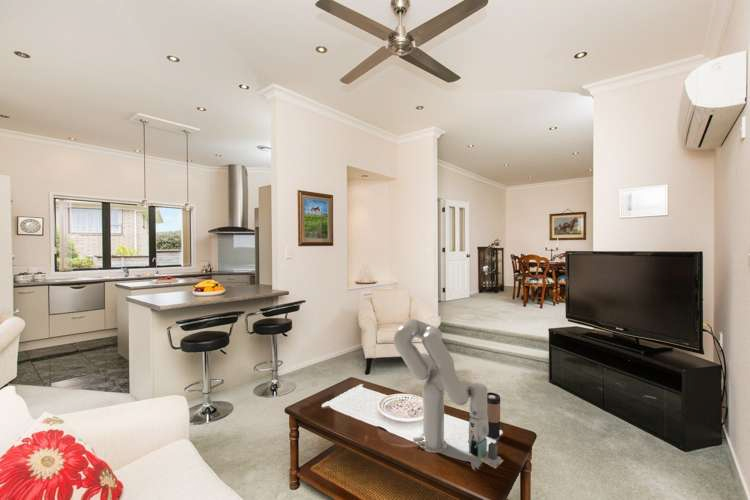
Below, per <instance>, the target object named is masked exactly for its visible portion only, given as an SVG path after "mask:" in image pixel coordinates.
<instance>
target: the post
mask: <svg viewBox="0 0 750 500" xmlns="http://www.w3.org/2000/svg"><path fill="white" fill-rule="evenodd" d="M498 446H499V445H498V444H496V443H494V442H492V441H491V442H490V443H489V444H487V447H488V448H487V452H488V455H487V456H486V457H485V461H487V462H489V463H491V464H493V465H495V466H496V465H497V464H498V463H499V462H500V461H501V459H502V457H501V456H498V453H499V451H498V449H499V448H498Z"/></svg>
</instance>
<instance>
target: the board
mask: <svg viewBox="0 0 750 500" xmlns="http://www.w3.org/2000/svg"><path fill="white" fill-rule="evenodd" d="M466 454H467V455H468V456H471V457H473V458H475V459H477V460H479V461H480V462H483V463H484V464H486V465H488V466H490V467H492V468H494V469H497V468H498V467H499V466H500V465H501V464H502V463H503V462H504V459H502V458H501V461H500V462H499V463H498V464H497V465H496V466H495V465H493V464H491V463H489V462H487V461H485V457H486V456H487V455H488V451H487V453H486V454H485V455H484V456H483V457H482V458H481V459H480V458H478V457H476V456H474V455H472V454H470V453H469V451H468V452H467V453H466Z"/></svg>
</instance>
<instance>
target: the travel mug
mask: <svg viewBox="0 0 750 500" xmlns="http://www.w3.org/2000/svg"><path fill="white" fill-rule="evenodd" d="M487 416H488V426H489V434H488V436H487V437H486V438H489V439H498V438H500V434H501V433H500V431H501V396H500V394H498V393H495V392H487Z"/></svg>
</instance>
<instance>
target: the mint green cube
mask: <svg viewBox="0 0 750 500" xmlns="http://www.w3.org/2000/svg"><path fill="white" fill-rule="evenodd" d="M473 443H474V444H475V441H473ZM477 447H478V456H476V457H478V458H480V459H481V458H482V457H483V456H484V455H485V454H486V453H487V452H488V448H487V447H488V439H487V437H485V438H484V439H483V440H482V441H480V442H478V443H477ZM468 452H469V453H470V454H471V446H470V444H469V443H468ZM472 455H473V454H472ZM474 456H475V455H474Z"/></svg>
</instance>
